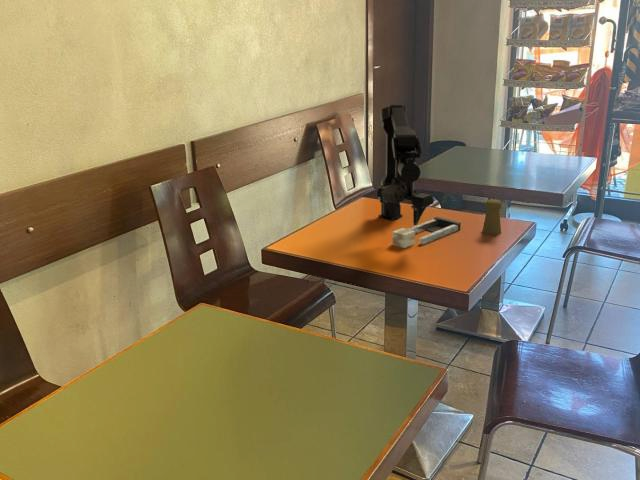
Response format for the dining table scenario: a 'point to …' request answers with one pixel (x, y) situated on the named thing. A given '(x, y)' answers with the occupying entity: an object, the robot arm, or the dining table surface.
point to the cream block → (403, 238)
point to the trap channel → (436, 229)
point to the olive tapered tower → (492, 217)
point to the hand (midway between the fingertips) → (404, 221)
